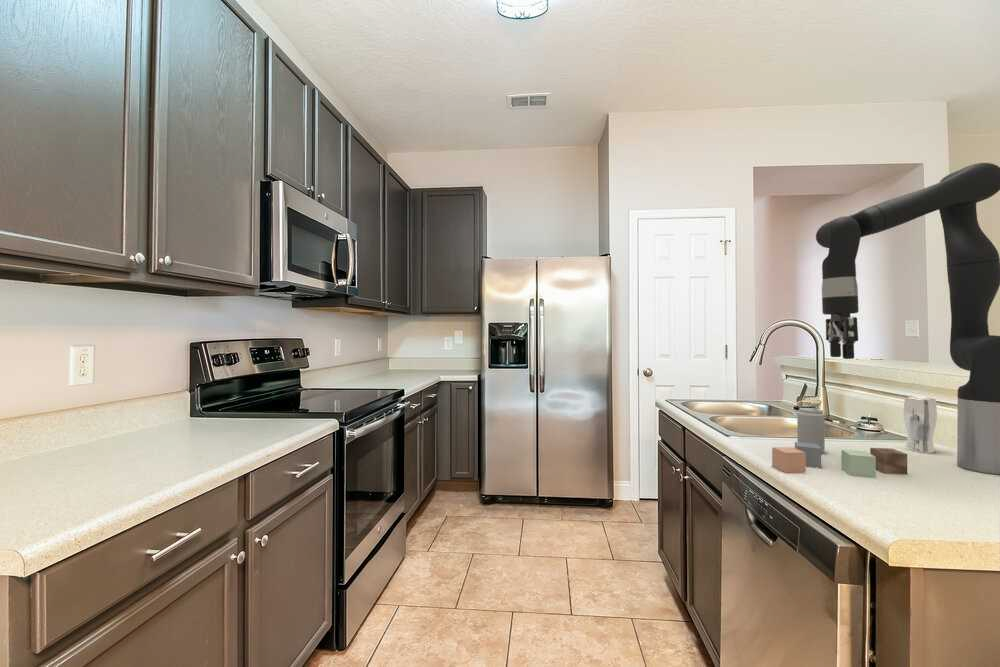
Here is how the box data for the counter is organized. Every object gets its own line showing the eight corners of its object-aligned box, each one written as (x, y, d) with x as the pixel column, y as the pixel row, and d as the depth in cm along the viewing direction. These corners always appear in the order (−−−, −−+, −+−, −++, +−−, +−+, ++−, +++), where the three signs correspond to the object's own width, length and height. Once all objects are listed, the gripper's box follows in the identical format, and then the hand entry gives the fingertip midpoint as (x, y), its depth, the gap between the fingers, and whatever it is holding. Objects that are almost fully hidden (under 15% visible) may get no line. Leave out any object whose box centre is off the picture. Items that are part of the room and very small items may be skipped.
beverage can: (829, 454, 125) (829, 411, 125) (803, 453, 126) (803, 410, 126) (817, 448, 131) (817, 407, 131) (793, 447, 132) (793, 406, 132)
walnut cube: (892, 468, 112) (892, 448, 112) (907, 474, 107) (907, 453, 107) (870, 467, 113) (870, 447, 113) (884, 473, 108) (884, 453, 108)
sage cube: (865, 471, 110) (865, 451, 110) (875, 478, 105) (875, 456, 105) (841, 469, 111) (841, 449, 111) (849, 475, 107) (850, 454, 107)
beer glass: (943, 453, 126) (944, 400, 126) (918, 453, 126) (918, 400, 126) (920, 447, 133) (921, 396, 133) (897, 447, 133) (897, 396, 133)
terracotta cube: (791, 466, 114) (791, 447, 114) (805, 473, 109) (805, 452, 109) (772, 467, 114) (772, 447, 114) (785, 473, 109) (785, 452, 108)
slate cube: (817, 463, 117) (817, 444, 117) (821, 468, 112) (821, 448, 112) (794, 460, 119) (794, 441, 119) (797, 465, 115) (797, 446, 115)
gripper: (869, 292, 109) (871, 359, 109) (846, 296, 123) (848, 356, 123) (832, 294, 112) (834, 359, 112) (813, 298, 125) (815, 356, 125)
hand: (841, 357), depth 117 cm, fingers open, 8 cm apart
